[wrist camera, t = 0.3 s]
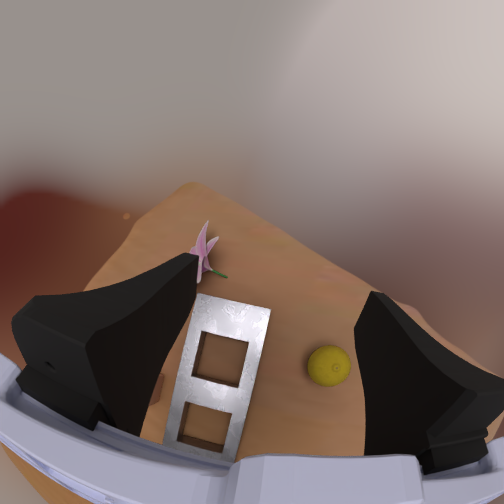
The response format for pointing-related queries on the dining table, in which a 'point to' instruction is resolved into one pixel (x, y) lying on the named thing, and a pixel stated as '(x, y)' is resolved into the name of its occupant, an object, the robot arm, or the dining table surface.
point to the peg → (157, 390)
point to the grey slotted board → (212, 390)
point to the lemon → (329, 365)
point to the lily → (204, 252)
